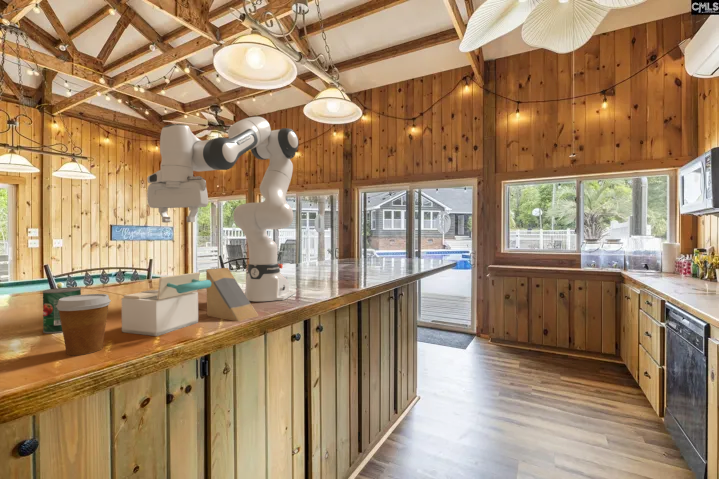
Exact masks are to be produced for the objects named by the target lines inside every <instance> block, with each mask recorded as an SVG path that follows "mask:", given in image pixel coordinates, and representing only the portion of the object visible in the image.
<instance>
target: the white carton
mask: <svg viewBox="0 0 719 479" xmlns="http://www.w3.org/2000/svg"><path fill="white" fill-rule="evenodd" d="M157 296H158V295H157ZM157 296H152V297H146V298H141V299H134V298H123V297H122V298H121V333H126V334H127V333H128V334H133V335H134V334H135V335H143V336H150V337H151V336H153V337H159V336H162V335H165V334H168V333H171V332H174V331H177V330H180V329H184V328H186V327H189V326H192V325H195V324H198V323H199V292H198V291H197V292H192V293H187V294H183V295H178V296H173V297H168V298H164V299H157Z"/></svg>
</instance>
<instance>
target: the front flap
mask: <svg viewBox="0 0 719 479" xmlns="http://www.w3.org/2000/svg"><path fill="white" fill-rule="evenodd" d="M200 274H201V273H200V272H199V271H197V272H190V273H182V274H176V275H168V276H163V277H159V281H158V287H157V288H158V296H157V299H164V298H168V297H173V296H178V295H183V294H187V293H192V292H198V291H199V290H203V289H207V288H209V287H211V281H210V280H206V279H204V280H200V276H201V275H200Z"/></svg>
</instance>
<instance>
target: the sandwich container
mask: <svg viewBox="0 0 719 479" xmlns="http://www.w3.org/2000/svg"><path fill="white" fill-rule="evenodd" d="M205 273H206V275H205V276H206V279H205V280H210V281H211V287H209V288H206V316H208V317H212V318H213V317H214V318H218V319H224V320H228V321H229V320H230V321H235V322H242V321H246V320H250V319H252V318H253V317H254V318H256V317H259V314H258V312H257V311H256V309H255V308H254V306H253V305H252V303H251V301H249V300H248V299H247V297H246V296H245V292H244V291H243V289H242V288H241V286H240V285H239V283H238V282H237V280H236V278H235V276H234V275H233V274H232V271H231V270H230V268H229V267H220V268H219V267H218V268H210V269H209V268H208V269H206V272H205Z"/></svg>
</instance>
